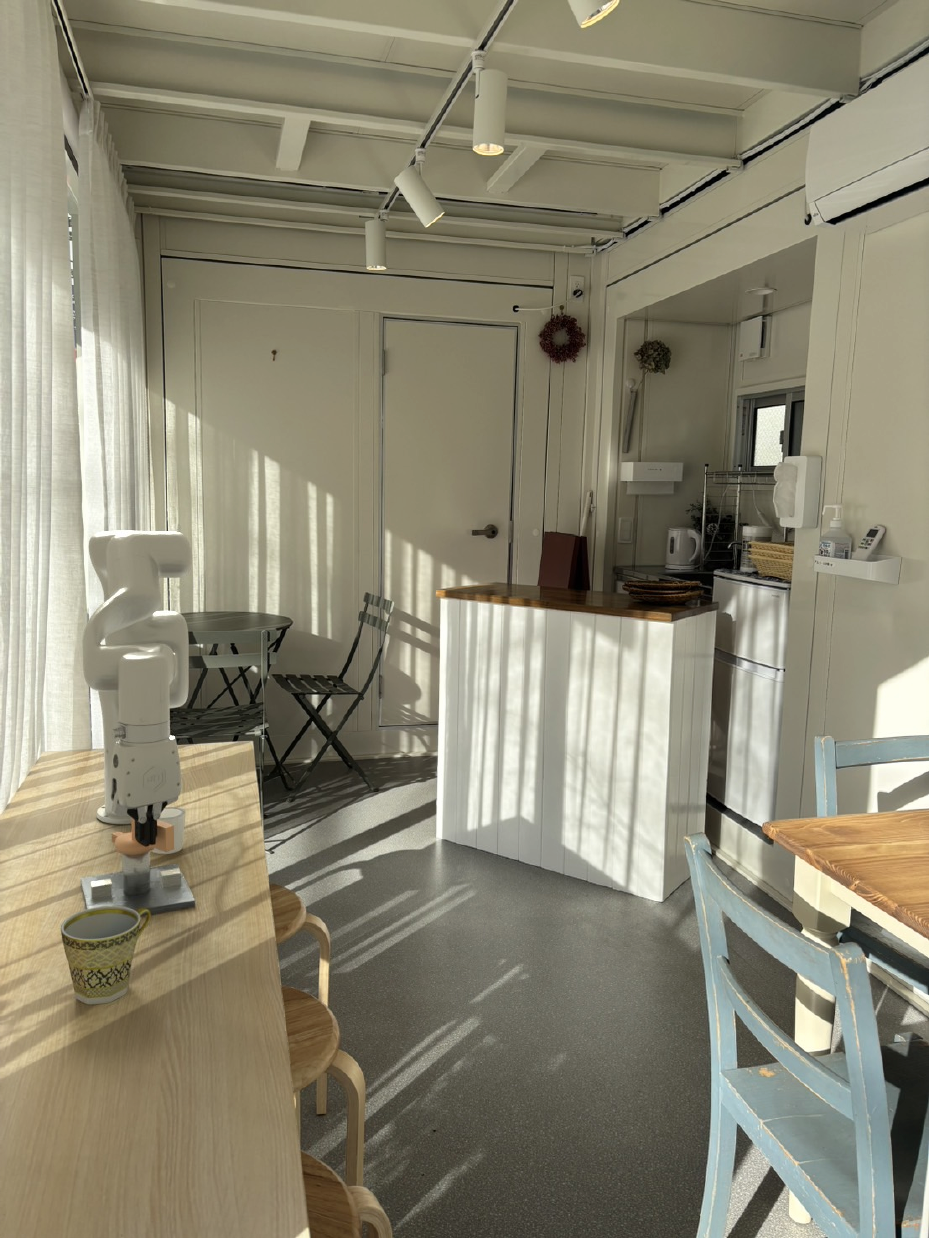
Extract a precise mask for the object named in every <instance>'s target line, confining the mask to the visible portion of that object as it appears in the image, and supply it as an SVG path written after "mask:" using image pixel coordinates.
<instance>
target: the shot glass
mask: <svg viewBox="0 0 929 1238" xmlns="http://www.w3.org/2000/svg"><path fill="white" fill-rule="evenodd" d="M186 813H187V812H186V810H185V809H183V808H180V807H175V806H168V807H167V806H166V807H165V809H164V810H163V811H162V812H161V816H160V818H159V819H158V820H159V821H162V822H165V823H168V824H171V825H174V849H173V850H171V851H168V852H164V851H161V850H158V849H156V848H154V849H153V850H151V852H153V853H154V854H159V855H167V854H174V853H178V852H180V851H181V850H183V845H184V844H183V843H184V834H185V823H186Z"/></svg>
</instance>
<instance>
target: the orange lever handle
mask: <svg viewBox="0 0 929 1238" xmlns="http://www.w3.org/2000/svg"><path fill="white" fill-rule="evenodd" d="M131 822H132V824H131V831H128V832H121V831H116V832H113V833H111V843H114V844H115V845H114V847H115V849H114V850H115V852H117V853H118V854H121V855H122V854H127V855H135V854H142V853H146V852H149V851H150V852H152V850H153V849H154V848H156V849H158V850H161V851H164V852H168V851H171V850H173V849H174V825H171V824H168V823H165V822H162V821H159V820H157V837H156V844H155V845H149V846H147V847H145V846H143V845H141V844H140V843H138V842H137V840H136V839H135V820H134V819H133V818H132V817H131Z"/></svg>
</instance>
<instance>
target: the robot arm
mask: <svg viewBox="0 0 929 1238" xmlns="http://www.w3.org/2000/svg"><path fill="white" fill-rule="evenodd" d="M88 553H89V554H88V556H89V558H90V562H91V564H92V567H93V569H94V571H95V574H96V576H97V577H98V580H99V581H100V584H101V588H102V591H103V602H102V604H100V605H99V606H98V607H97V609H96V610H95V611H94V612H93V613H92V615H90V618H89V619H88V621H87V623H86V625H85V626H84V631H83V635H82V667H83V676H84V680H85V681H84V682H86V684H87V686H88V687H89V688H90V689H91V690H93V691H96V692H97V693H98V698H99V703H100V709H101V716H102V732H103V771H104V773H103V776H104V779H103V780H104V804H103V805H102V806H100V807H99V808H97V810H96V817H97V819H98V820H99V821H101V822H103V823H106V824H110V825H111V824H112V825H132V822H131V817H132V818H133V819H134V820H135V839H136V840H137V842H138V843H140V844H141V845H143V846H145V847H147V846H149V845H155V844H156V837H157V820H158V819H159V818H160V816H161V812H162V811H163V810H164V809H165V807H167V806H170V805H171V804H174V803H175V802H177V801H178V800H179V796H181V793H182V788H183V785H182V783H183V782H182V768H181V759H180V753H179V747H178V744H177V740H176V737H175V736H174V735H171V727H170V725H171V720H170V719H171V717H170V716H171V715H170V713H171V712H170V710H171V709H175V708H180V707H182V706H184V704H186V702H187V699H188V697H189V696H188V695H189V689H190V688H189V685H190V684H189V683H190V681H189V680H190V679H189V674H190V673H189V667H190V666H189V665H190V663H189V662H190V661H189V652H190V651H189V649H190V647H189V644H190V642H189V629H188V624H187V621H186V617H184V616H183V615H182V613H179V612H178V611H173V610H159V609H160V607H161V604H162V594H161V587H160V579H168V578H169V579H171V578H174V579H176V578H177V579H178V578H179V579H181V578H183V579H184V578H185V577H187V576H188V575H189V574H190V572H191V569H192V563H193V555H192V548H191V544H190V542H189V539H188V538H187V537H186V535H185V534H184V533H182V532H179V531H178V532H177V531H157V530H155V531H150V530H148V531H147V530H144V531H143V530H108V531H101V532H97V533H94V534H93V535H92V536H91V537H90V538H89V541H88ZM103 640H104V644H101V642H103Z"/></svg>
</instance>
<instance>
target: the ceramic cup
mask: <svg viewBox="0 0 929 1238" xmlns="http://www.w3.org/2000/svg"><path fill="white" fill-rule="evenodd" d="M145 912H146V913H147V915H146V917H145V918H146V919H145V921H144V923H143V925H142V926H141V920H142V918H141V917H142V916H141V915H142V914H143V913H145ZM151 917H152V915H151V914H150V911H149V910H148V909H146V908H139V909H137V910H136V911H135V910H133V909H130V908H127V907H122V906H102V907H95V908H90V909H87V910H86V909H84V910H80V911H78V912H76V913H74V914H72V915H70V916H69V917H67V918H66V919H65V920H64V921H63V922H62V924H60V932H61V934H60V935H61V940H62V944H63V949H64V954H65V957H66V960H67V962H68V968H69V973H70V978H71V981H72V987H73V991H74V995H75V996H74V997H75V998H76V999H77V1001H79V1002H82V1003H84V1004H86V1005H88V1006H89V1005H101V1004H111V1002H113V1001H115V1000H117V999H119V998H121V997H124V996H125V995H126V994H127V991H128V986H129V982H130V976H131V969H132V963H133V959H134V952H135V950H136V946H137V942H138V939H139V938H140V936H141V935H142V933H143V932H144V931H145V929H146V928H147V927H148V926H149V924H150V921H151Z"/></svg>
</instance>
